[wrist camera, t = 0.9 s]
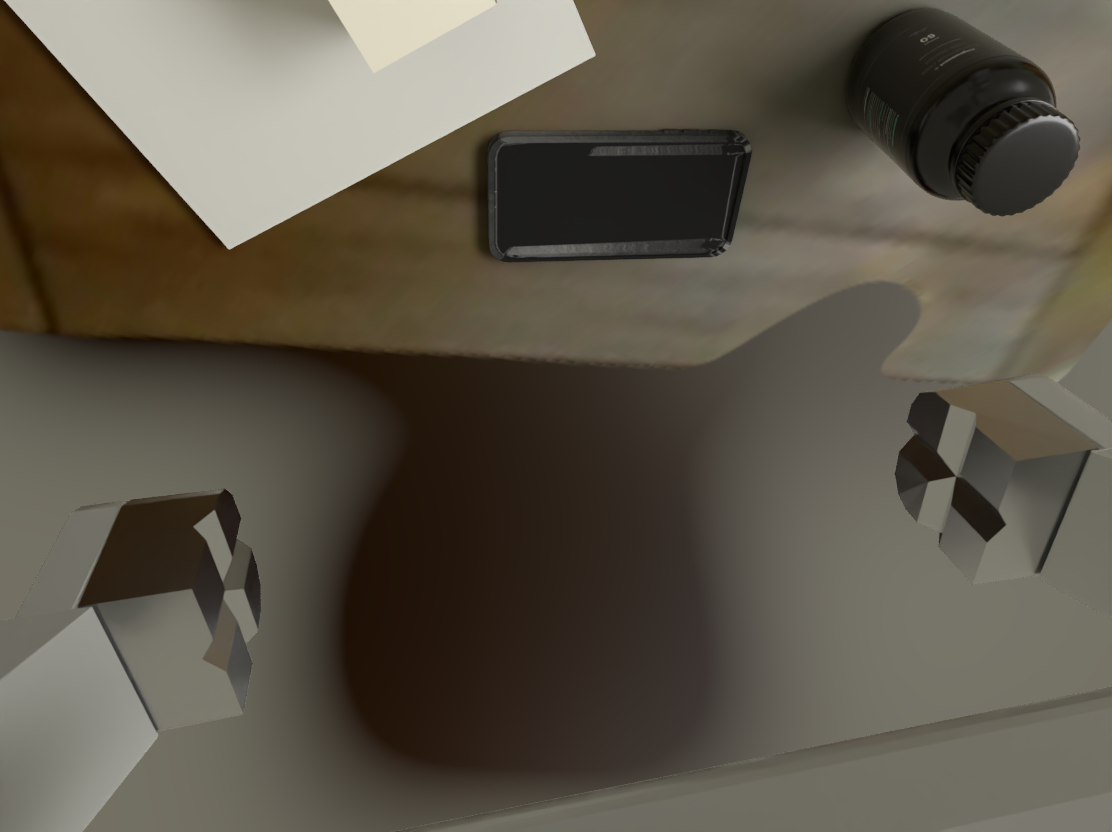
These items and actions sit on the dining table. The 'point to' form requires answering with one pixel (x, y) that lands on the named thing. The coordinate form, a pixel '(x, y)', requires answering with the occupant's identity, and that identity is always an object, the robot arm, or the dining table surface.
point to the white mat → (289, 91)
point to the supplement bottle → (961, 113)
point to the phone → (614, 194)
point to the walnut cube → (401, 24)
